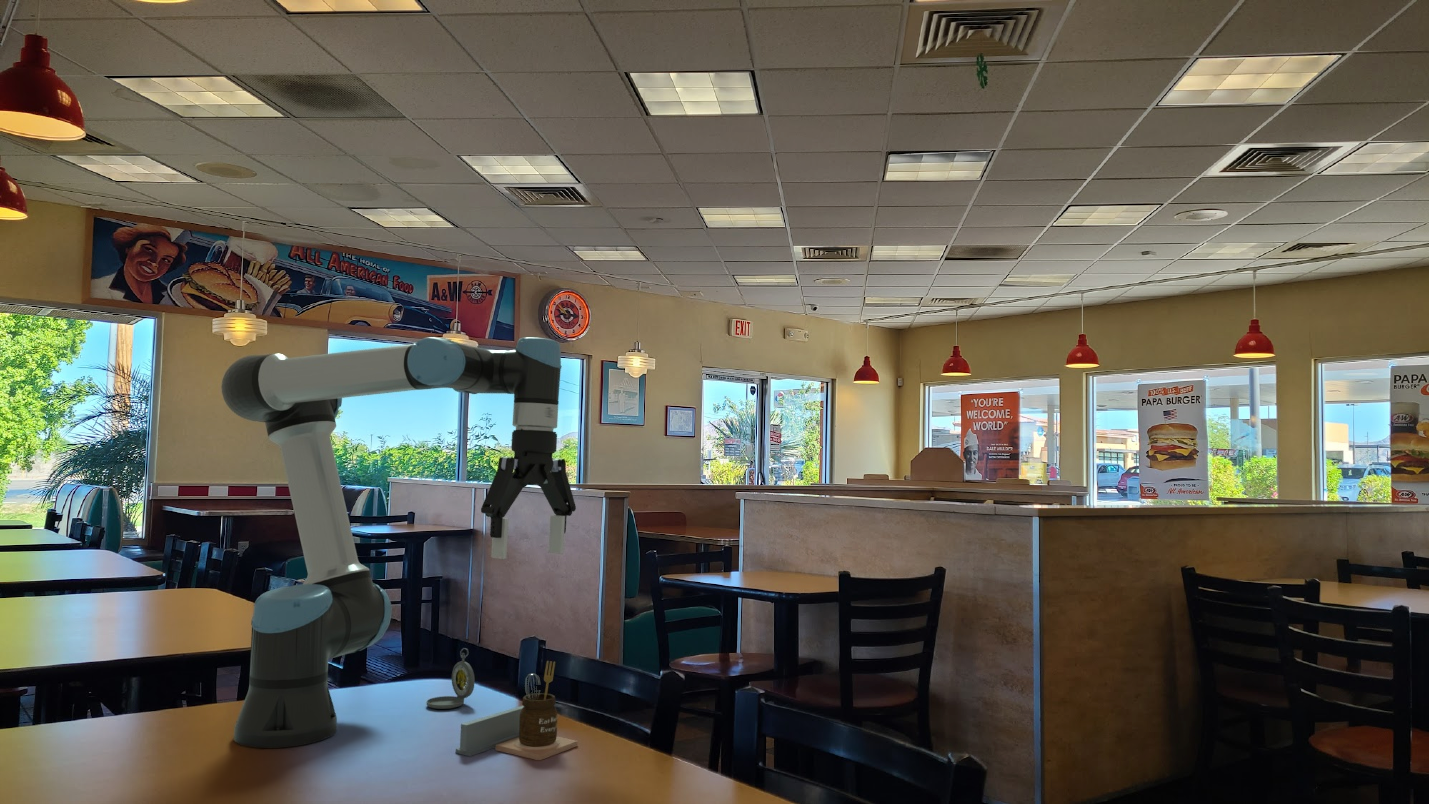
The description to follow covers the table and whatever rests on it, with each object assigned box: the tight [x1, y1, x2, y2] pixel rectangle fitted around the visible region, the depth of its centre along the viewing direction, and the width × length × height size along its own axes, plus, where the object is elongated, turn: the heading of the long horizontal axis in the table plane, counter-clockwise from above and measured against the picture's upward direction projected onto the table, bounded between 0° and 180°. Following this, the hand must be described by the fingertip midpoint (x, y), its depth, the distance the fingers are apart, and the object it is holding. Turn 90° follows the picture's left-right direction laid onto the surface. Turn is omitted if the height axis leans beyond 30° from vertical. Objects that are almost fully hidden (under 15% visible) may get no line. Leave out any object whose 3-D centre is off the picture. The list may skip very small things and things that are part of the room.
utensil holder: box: [519, 660, 558, 747], centre depth 150 cm, size 6×6×12 cm
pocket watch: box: [426, 647, 476, 710], centre depth 174 cm, size 8×8×10 cm
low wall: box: [455, 705, 524, 757], centre depth 153 cm, size 3×18×4 cm, turn 149°
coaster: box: [495, 736, 578, 761], centre depth 149 cm, size 9×9×1 cm
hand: (528, 555), depth 158 cm, fingers open, 13 cm apart
